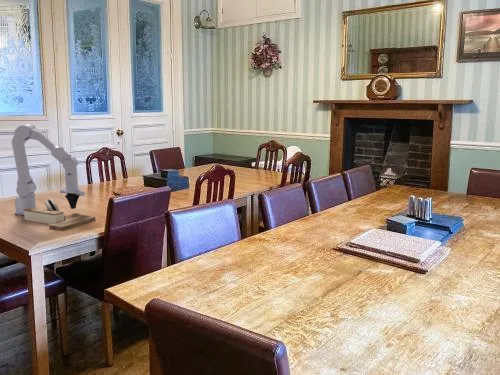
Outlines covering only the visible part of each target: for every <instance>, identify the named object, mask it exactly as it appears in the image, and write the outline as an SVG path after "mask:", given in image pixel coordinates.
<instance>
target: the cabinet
mask: <svg viewBox="0 0 500 375" xmlns="http://www.w3.org/2000/svg"><path fill="white" fill-rule="evenodd" d="M64 213H65V212H64V211H61V210H60V211H55V210H52V211H50V210H48V209H47V208H46V209H45V208H41V207H36V208H34V207H32V208H28V209H24V215H23V216H24V221H30V222H37V223H42V224H48V225H51V224H54V223H58V222H61V221H64V220H65V218H64V216H65V214H64Z"/></svg>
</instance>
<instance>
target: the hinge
mask: <svg viewBox="0 0 500 375" xmlns="http://www.w3.org/2000/svg"><path fill="white" fill-rule="evenodd" d="M43 202H44V205H45V207H46V209H48V210H50V211H52V210H55V211H61V210H60V209H59V207H58V204H57V203H56V201H55V200H54V199H53V198H49V199H48V200H47V199H46V200H45V201H43ZM64 220H67V217H66V215H64Z"/></svg>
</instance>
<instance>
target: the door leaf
mask: <svg viewBox="0 0 500 375" xmlns="http://www.w3.org/2000/svg"><path fill="white" fill-rule="evenodd" d="M93 221H96V216H91V215H84V214H81V215H78V216H75V217H71V218H68V219H66V220H65V219H64V221H61V222H58V223H54V224H48V229H52V230H56V229H57V231H62V230H63V231H65V230H68V229H71V228H75V227H78V226H81V225H84V224H87V223H91V222H93Z"/></svg>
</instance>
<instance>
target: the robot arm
mask: <svg viewBox="0 0 500 375" xmlns="http://www.w3.org/2000/svg"><path fill="white" fill-rule="evenodd" d="M29 140H35V141H38V143H40V144H41V145H42V146H44V147H45V148H47V149H48V150H49V151H50V155H51V156H52V157H53V158H54V159H56V160H57V162H59V163H60V164H62V167H63V169H64V178H65V188H61V189H59V191H60V192H59V193H60V194H65V195H64V198H66V200H67V202H68V205H69V207H70V209H71V210H74V209H76V208H77V204H78V200H79V198H80V196H81V197H83V196H86V193H85V191H84V190H80V189H79V180H78V168H77V166H78V164H79V161H78V160H77V158H76V157H74V156H72V154H69V153H68V152H67V151H66V150H65V148H64V147H63V146H62V147H61V146H59V145H58V146H57V145H55V144H54V142H52V141H51V140H50V139H49V138H48V137H47V136H46V135H45V134H44V133H43V132H42V131H41V130H40V129H39V128H38V127H36V125H34V124H33V123H29V124H21V125H19V126H17V128H16V129H14V134H13V137H12V139H11V145H12V146H11V147H12V151H13V156H14V162H15V167H16V171H17V181H16V190H15V192H16V194H17V196H15V199H14V208H15V212H14V214H16V215H21V216H25V215H24V209H28V208H32V207H34V208H37V204H36V195H35V192H36V190H37V186H36V184H35V182H34V179H33V177H32V176H31V175H30V174H31V173H30V168H29V163H28V158H27V157H28V156H27V153H26V148H25V145H26V143H27V142H28V141H29Z"/></svg>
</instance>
